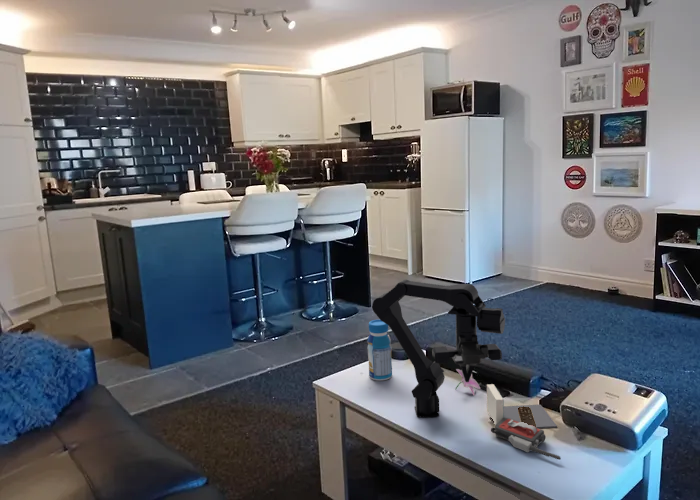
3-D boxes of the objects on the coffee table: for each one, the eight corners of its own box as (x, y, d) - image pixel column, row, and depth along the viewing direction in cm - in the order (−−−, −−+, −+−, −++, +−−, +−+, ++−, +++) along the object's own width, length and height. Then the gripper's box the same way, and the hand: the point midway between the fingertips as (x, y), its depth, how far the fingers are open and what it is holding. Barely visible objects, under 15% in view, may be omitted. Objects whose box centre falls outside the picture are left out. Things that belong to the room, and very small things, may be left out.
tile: (496, 427, 151) (496, 399, 149) (486, 411, 161) (486, 384, 159) (503, 427, 151) (504, 399, 149) (494, 410, 161) (494, 384, 159)
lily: (459, 403, 168) (473, 381, 166) (437, 380, 176) (450, 359, 173) (479, 402, 175) (493, 381, 173) (457, 380, 183) (470, 360, 180)
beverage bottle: (383, 383, 183) (381, 327, 180) (363, 378, 189) (361, 323, 185) (397, 374, 190) (395, 320, 186) (378, 369, 195) (375, 317, 192)
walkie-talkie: (486, 438, 146) (558, 465, 132) (485, 423, 145) (558, 449, 131) (502, 424, 152) (573, 449, 138) (502, 410, 151) (573, 433, 137)
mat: (506, 429, 149) (506, 428, 149) (494, 408, 162) (494, 406, 162) (557, 427, 149) (557, 425, 149) (540, 405, 162) (540, 404, 162)
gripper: (437, 341, 143) (439, 395, 146) (507, 337, 143) (507, 392, 146) (431, 327, 154) (432, 378, 157) (496, 324, 154) (496, 375, 157)
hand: (466, 381), depth 154 cm, fingers closed
